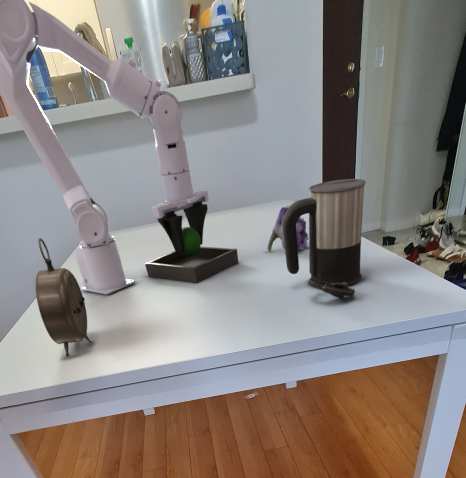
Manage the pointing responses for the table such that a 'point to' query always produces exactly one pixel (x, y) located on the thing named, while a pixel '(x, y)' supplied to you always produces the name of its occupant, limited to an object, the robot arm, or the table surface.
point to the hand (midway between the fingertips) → (189, 248)
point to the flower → (278, 231)
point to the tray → (192, 264)
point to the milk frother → (329, 235)
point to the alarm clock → (61, 304)
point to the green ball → (190, 241)
